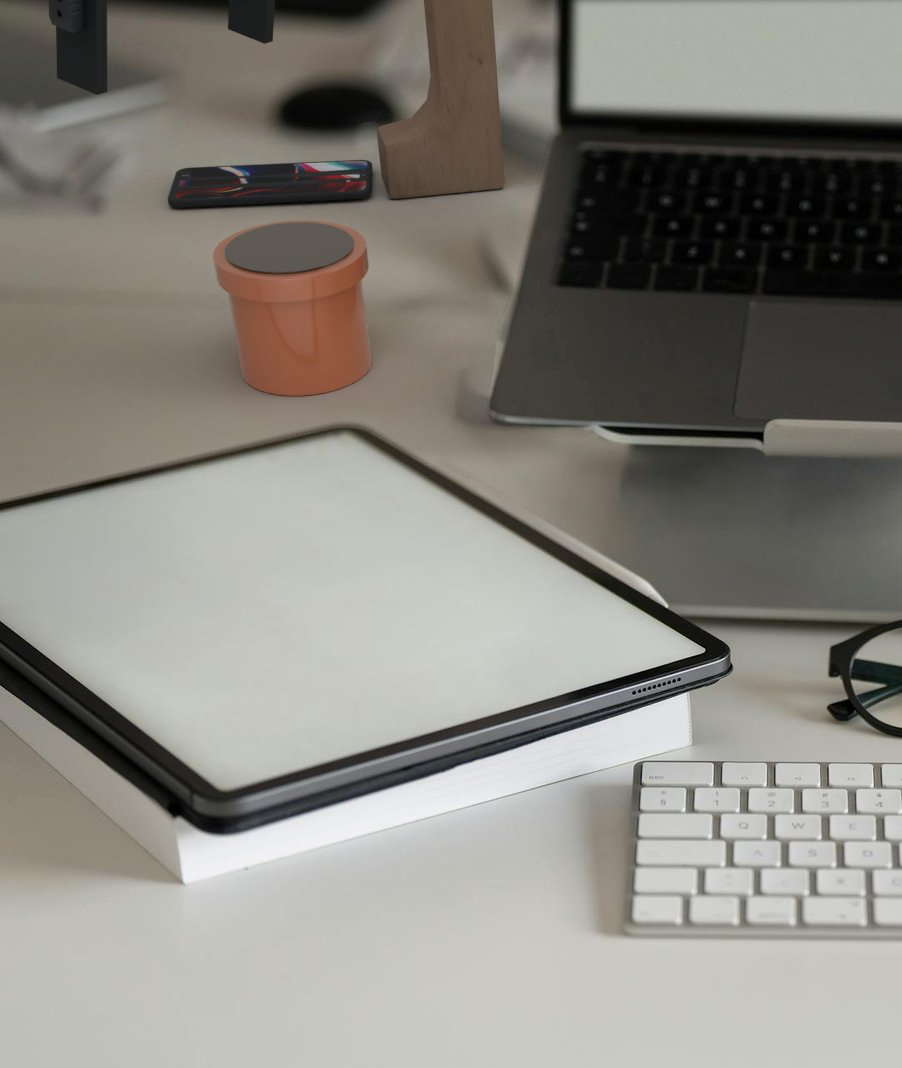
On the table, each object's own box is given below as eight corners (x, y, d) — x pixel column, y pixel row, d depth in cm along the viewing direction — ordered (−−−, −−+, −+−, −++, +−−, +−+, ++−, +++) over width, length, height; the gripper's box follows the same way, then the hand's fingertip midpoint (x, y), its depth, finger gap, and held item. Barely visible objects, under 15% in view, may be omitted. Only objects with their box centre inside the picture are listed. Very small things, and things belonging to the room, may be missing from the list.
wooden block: (389, 201, 131) (363, -38, 121) (381, 180, 134) (355, -54, 124) (505, 189, 133) (489, -46, 123) (494, 169, 137) (478, -61, 127)
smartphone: (176, 167, 133) (372, 158, 136) (178, 175, 134) (373, 166, 136) (165, 202, 127) (370, 192, 130) (166, 210, 128) (371, 200, 130)
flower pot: (204, 388, 105) (182, 265, 100) (279, 327, 112) (261, 210, 108) (338, 409, 103) (321, 285, 98) (404, 345, 110) (391, 228, 106)
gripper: (48, -323, 74) (57, 134, 86) (389, -334, 94) (359, 37, 106) (-85, -370, 76) (-58, 84, 87) (278, -371, 96) (261, -2, 107)
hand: (171, 59), depth 96 cm, fingers open, 13 cm apart
